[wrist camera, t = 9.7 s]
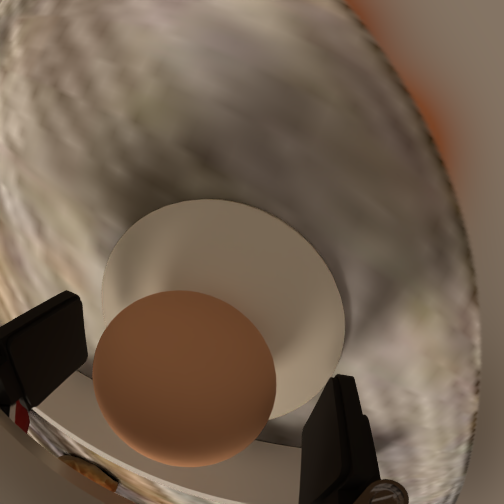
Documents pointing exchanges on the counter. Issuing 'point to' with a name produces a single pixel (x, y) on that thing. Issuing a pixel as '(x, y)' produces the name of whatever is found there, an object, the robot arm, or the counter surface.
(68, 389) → the wall
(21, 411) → the apple
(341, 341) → the saucer
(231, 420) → the ball
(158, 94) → the counter surface
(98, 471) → the pastry
